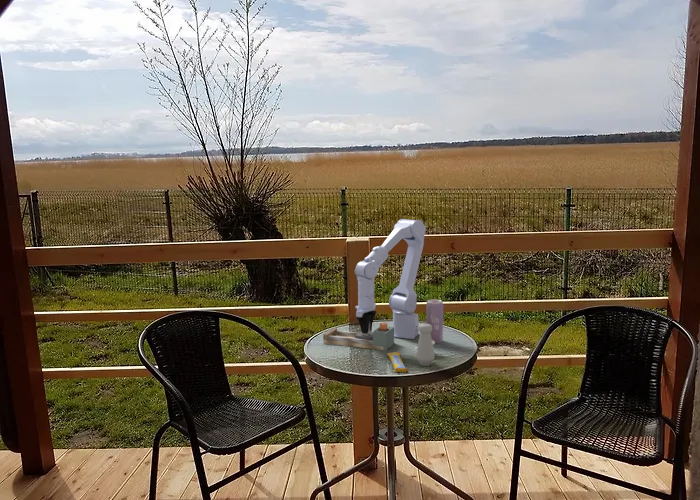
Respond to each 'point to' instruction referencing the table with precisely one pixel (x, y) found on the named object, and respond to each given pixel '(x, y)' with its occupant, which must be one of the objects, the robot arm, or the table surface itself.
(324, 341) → the rail track
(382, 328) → the button
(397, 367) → the candy bar
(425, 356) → the salt shaker
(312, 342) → the table surface
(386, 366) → the table surface
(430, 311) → the beverage can
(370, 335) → the carriage
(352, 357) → the table surface
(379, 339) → the end cabinet
